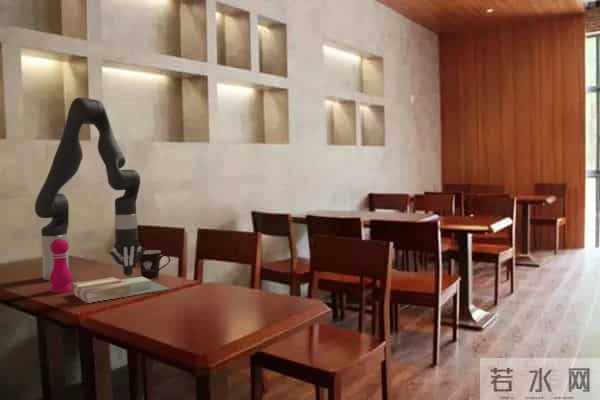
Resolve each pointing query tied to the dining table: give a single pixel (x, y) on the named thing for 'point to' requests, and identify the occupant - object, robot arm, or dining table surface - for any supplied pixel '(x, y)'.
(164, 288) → the slate mat
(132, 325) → the dining table surface
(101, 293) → the block
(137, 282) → the green tile
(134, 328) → the dining table surface
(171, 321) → the dining table surface
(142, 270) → the coffee mug
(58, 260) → the pepper mill
